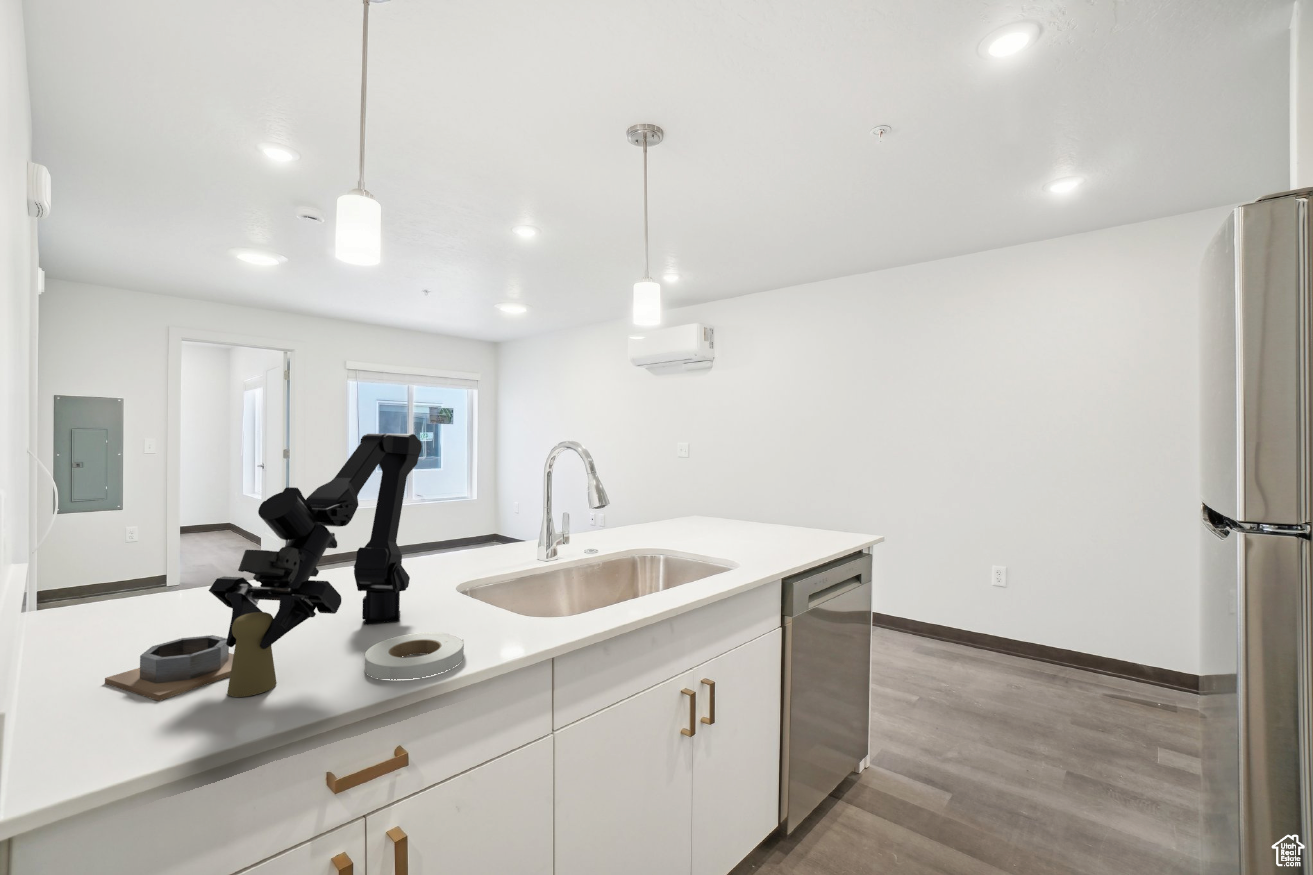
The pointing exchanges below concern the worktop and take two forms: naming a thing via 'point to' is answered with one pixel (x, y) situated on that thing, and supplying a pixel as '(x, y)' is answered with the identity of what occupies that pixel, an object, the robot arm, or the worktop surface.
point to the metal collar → (183, 659)
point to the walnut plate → (167, 689)
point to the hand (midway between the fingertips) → (245, 646)
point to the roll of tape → (391, 665)
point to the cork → (251, 656)
